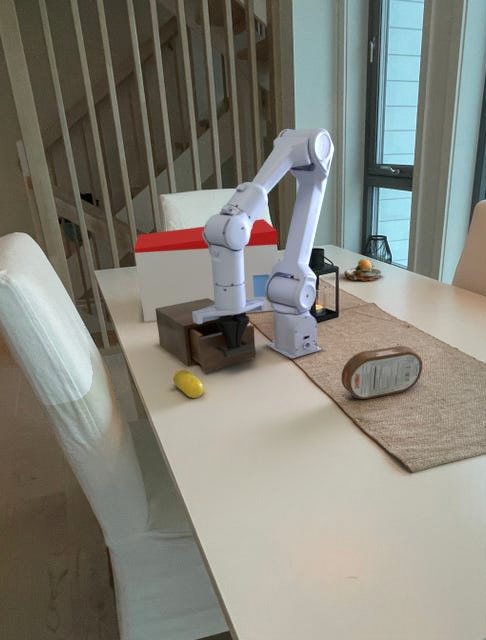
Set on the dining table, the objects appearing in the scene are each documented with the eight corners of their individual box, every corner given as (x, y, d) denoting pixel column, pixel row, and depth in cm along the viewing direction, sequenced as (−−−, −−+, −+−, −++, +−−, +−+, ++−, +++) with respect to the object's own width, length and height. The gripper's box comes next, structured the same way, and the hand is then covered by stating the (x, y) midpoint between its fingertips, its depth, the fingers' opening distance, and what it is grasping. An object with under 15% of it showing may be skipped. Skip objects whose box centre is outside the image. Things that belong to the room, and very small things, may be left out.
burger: (377, 272, 173) (378, 250, 170) (384, 281, 163) (385, 257, 160) (341, 273, 173) (342, 251, 170) (346, 282, 162) (347, 258, 159)
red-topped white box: (280, 309, 136) (277, 230, 128) (144, 321, 129) (132, 238, 121) (267, 289, 155) (264, 219, 147) (147, 298, 147) (137, 225, 139)
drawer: (267, 364, 101) (265, 332, 98) (215, 379, 95) (212, 346, 92) (224, 339, 114) (221, 310, 112) (176, 351, 108) (172, 320, 105)
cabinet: (242, 351, 110) (239, 313, 107) (187, 366, 103) (183, 326, 100) (211, 333, 121) (207, 297, 117) (160, 345, 114) (155, 308, 110)
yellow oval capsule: (207, 397, 91) (206, 380, 89) (190, 403, 89) (188, 385, 87) (186, 380, 97) (184, 363, 96) (169, 384, 95) (167, 368, 94)
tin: (413, 383, 95) (417, 340, 91) (423, 390, 92) (427, 346, 89) (340, 397, 90) (340, 353, 87) (347, 405, 87) (348, 360, 84)
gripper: (252, 273, 100) (254, 338, 105) (182, 284, 92) (189, 353, 97) (271, 280, 95) (273, 348, 100) (200, 292, 87) (206, 365, 92)
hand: (233, 351), depth 98 cm, fingers closed, pressing on drawer
